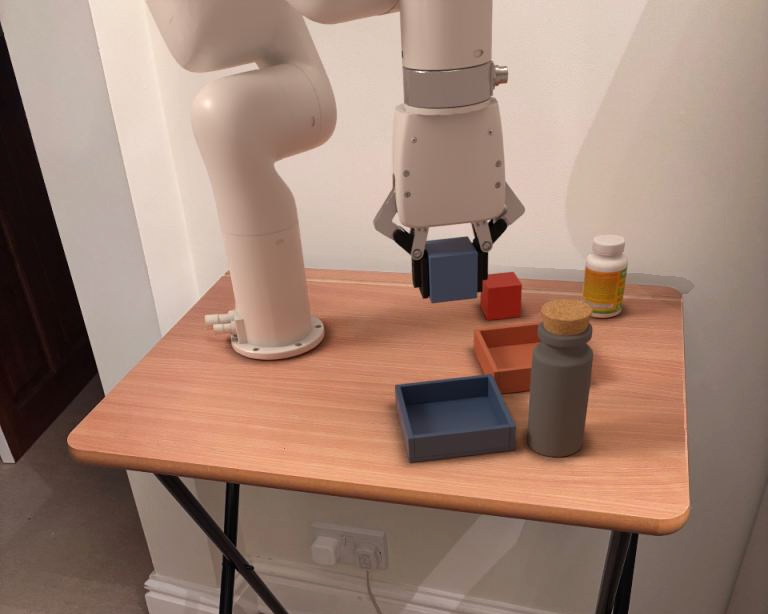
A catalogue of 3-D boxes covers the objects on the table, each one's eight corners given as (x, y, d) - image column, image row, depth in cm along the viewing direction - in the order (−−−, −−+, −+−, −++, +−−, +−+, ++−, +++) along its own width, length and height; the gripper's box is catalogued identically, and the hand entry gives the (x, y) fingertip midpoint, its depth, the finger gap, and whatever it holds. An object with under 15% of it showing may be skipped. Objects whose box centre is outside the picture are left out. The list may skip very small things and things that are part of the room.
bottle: (583, 459, 79) (600, 323, 70) (525, 456, 80) (534, 321, 71) (582, 427, 84) (597, 296, 74) (527, 425, 85) (536, 295, 75)
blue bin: (409, 462, 81) (408, 438, 79) (395, 407, 90) (394, 384, 88) (514, 450, 81) (516, 426, 80) (491, 396, 90) (492, 373, 88)
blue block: (431, 303, 76) (429, 257, 73) (423, 285, 80) (422, 241, 77) (477, 298, 76) (477, 252, 74) (467, 280, 80) (467, 235, 77)
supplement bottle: (621, 319, 103) (632, 247, 97) (580, 318, 104) (587, 246, 98) (620, 302, 107) (630, 232, 101) (580, 301, 108) (587, 231, 102)
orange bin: (493, 394, 90) (493, 371, 88) (473, 350, 99) (474, 328, 97) (587, 384, 91) (590, 361, 89) (559, 341, 100) (561, 319, 98)
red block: (487, 320, 106) (488, 288, 103) (480, 306, 109) (480, 274, 106) (520, 316, 106) (522, 284, 103) (512, 303, 109) (513, 271, 106)
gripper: (532, 69, 70) (523, 267, 81) (345, 88, 69) (362, 285, 80) (556, 85, 64) (543, 295, 75) (352, 106, 63) (370, 315, 75)
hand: (450, 288), depth 78 cm, fingers closed on blue block, 4 cm apart
